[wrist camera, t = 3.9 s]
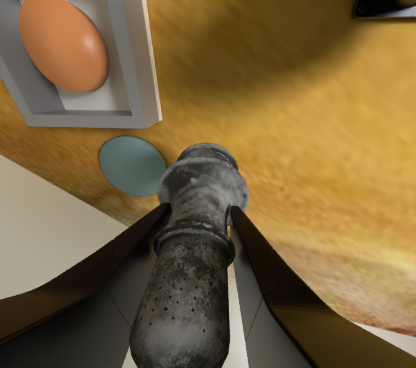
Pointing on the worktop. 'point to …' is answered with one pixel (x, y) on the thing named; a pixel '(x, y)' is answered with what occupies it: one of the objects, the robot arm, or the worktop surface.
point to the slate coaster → (132, 165)
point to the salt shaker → (191, 265)
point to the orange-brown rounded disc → (64, 44)
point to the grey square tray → (96, 100)
